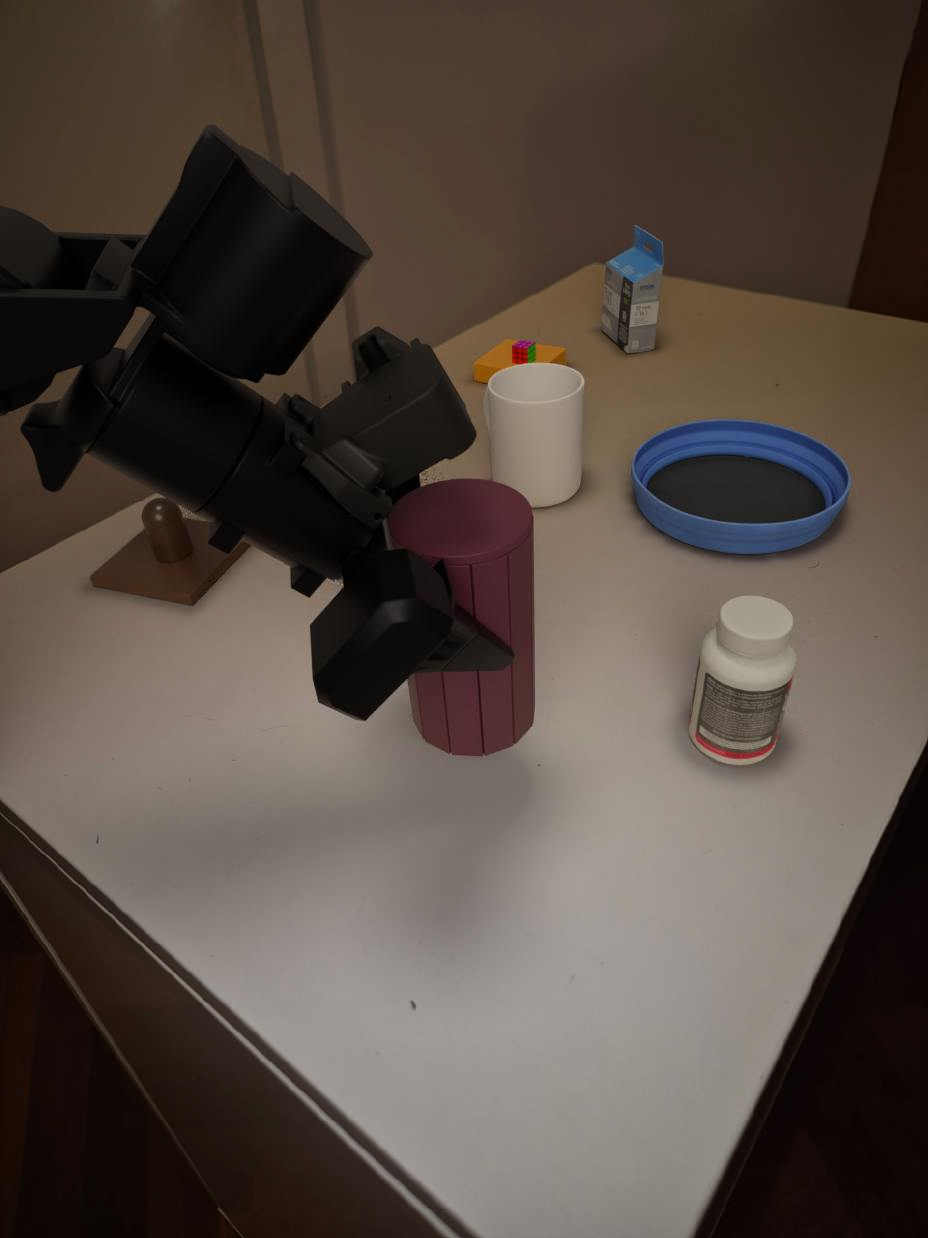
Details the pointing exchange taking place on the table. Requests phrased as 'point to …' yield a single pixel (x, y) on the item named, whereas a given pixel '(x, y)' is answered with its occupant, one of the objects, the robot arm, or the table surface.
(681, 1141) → the table surface
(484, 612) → the maroon grooved cylinder
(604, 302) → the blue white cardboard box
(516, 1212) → the table surface
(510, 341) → the orange slab with cube
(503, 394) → the mug
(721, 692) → the pill bottle
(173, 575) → the hat stand
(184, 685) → the table surface
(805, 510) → the bowl
